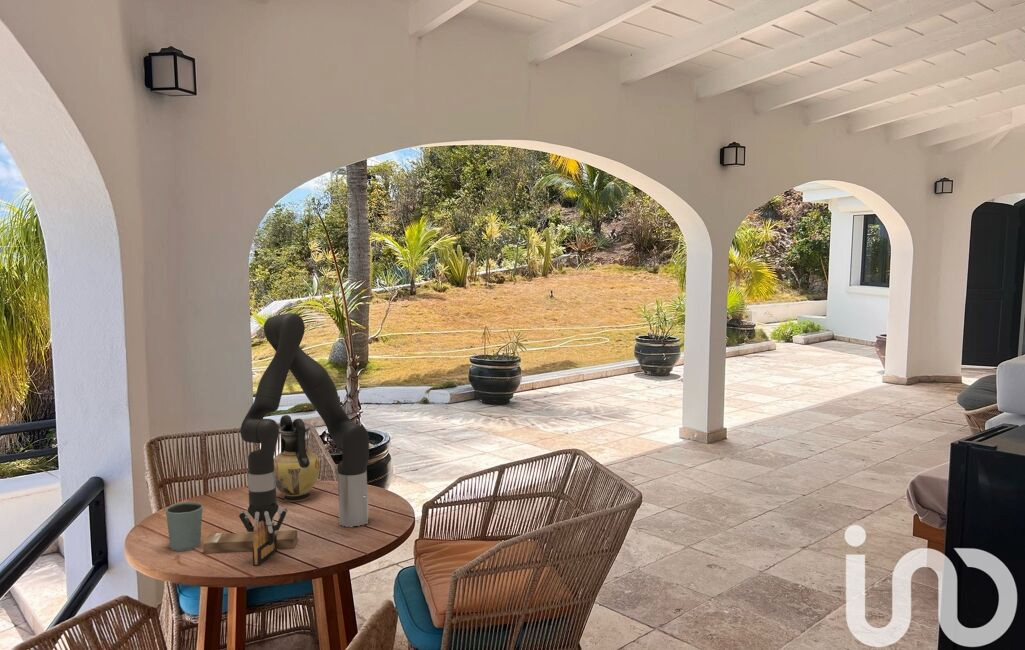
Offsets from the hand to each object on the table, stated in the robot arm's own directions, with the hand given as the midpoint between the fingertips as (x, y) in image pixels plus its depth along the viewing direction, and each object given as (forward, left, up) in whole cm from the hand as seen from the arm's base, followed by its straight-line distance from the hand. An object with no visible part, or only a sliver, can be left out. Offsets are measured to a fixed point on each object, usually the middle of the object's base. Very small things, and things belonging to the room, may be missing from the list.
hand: (264, 544), depth 214 cm
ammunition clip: (0, 0, -4) cm, 4 cm away
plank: (+6, -10, -4) cm, 12 cm away
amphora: (0, -53, -4) cm, 53 cm away
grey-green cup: (+26, -13, -4) cm, 29 cm away
